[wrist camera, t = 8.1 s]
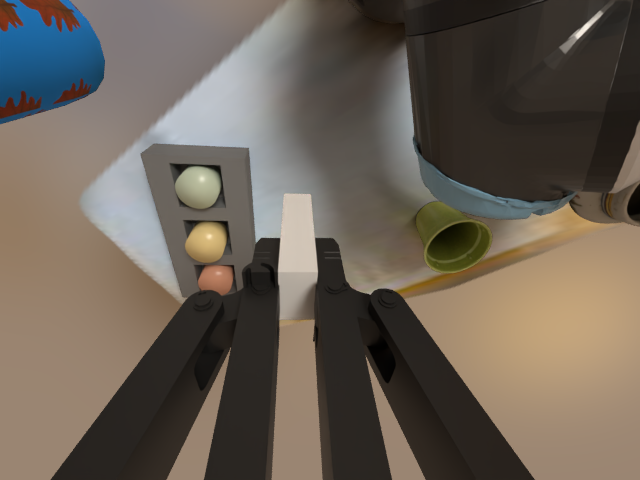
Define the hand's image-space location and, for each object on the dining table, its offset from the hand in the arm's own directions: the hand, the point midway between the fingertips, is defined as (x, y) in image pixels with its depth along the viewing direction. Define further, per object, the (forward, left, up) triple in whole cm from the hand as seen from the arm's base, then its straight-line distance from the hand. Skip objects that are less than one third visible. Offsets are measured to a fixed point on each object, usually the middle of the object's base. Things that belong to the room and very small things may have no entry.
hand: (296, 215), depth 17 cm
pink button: (+24, -12, -23) cm, 35 cm away
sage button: (+8, -12, -23) cm, 27 cm away
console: (+16, -12, -24) cm, 31 cm away
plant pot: (+14, +23, -24) cm, 36 cm away
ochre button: (+16, -12, -22) cm, 29 cm away
